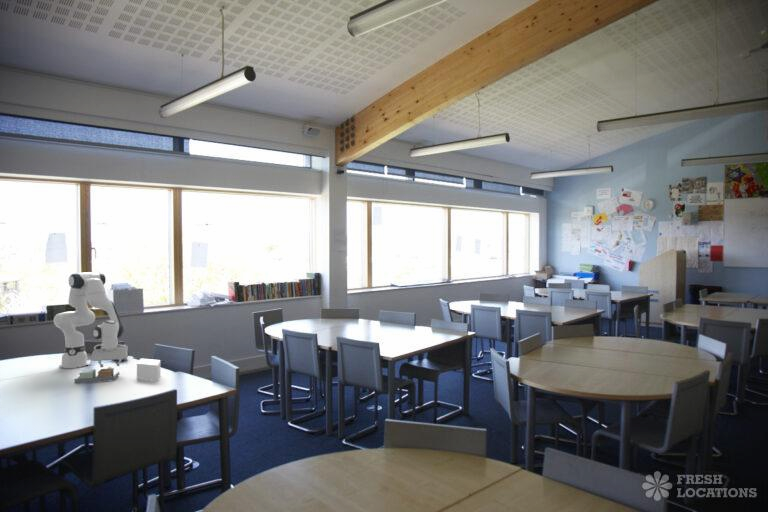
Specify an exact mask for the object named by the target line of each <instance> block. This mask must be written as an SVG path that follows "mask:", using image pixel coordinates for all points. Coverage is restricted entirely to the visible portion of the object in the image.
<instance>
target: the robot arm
mask: <svg viewBox="0 0 768 512" xmlns="http://www.w3.org/2000/svg"><path fill="white" fill-rule="evenodd" d="M106 281H107V279H106V276H105V274H104V273H103V272H99V271H98V272H95V271H94V272H92V271H87V272H79V273H77V272H75V273H72V274H70V276H69V277H68V285H69V287H70V290H69V294H68V300H67V301H68V305H69V306H71V307H72V308H74V309H75V310H73V311H72V310H71V311H64V312H60V313H56V315H54V317H53V324H54V326H55V327H57V328H58V329H59V330H61V332H62V333H63V335H64V340H65V341H64V342H65V347H64V349H63V350H64V353H63V354H62V356H61V364H60V365H59V366H58V367H59V368H62V367H63V368H62V369H76V368H77V367H78V368H83V367H87V366H86V365H88V366H91V363H92V362H91V361H94V362H95V361H97V362H98V364H99V367H100V368H104V363H102V361H110V360H114V361H115V360H118V363H117V362H116V367H120V365H121V362H122V361H123V360H122V359H124V360H126V359H128V358H129V356H128V354H127V350H128V351H129V346H128V345H126V344H121V345H118V344H119V342H118V341H119V340H118V339H119V338H121V337H122V336H123V334H124V332H125V328H124V326H123V324H122V321H121V319H120V317H119V314H118V311H117V308H116V306H115V304H114V302H113V301H112V300H110V299H109V298H108V296H107V293H106V288H105V283H106ZM88 304H89V305H90V306H91V307H92V308H95V309H98V310H99V309H100V310H103V311H104V312H106V313H107V315H108V317H109V319H107V320H104V321H103V322H102V323H101V324H98V325H95V326H94V327H93V329H92V336H93V338H94V339H96V340H100V341H101V340H102V341H101V342H102V343H99V344H96V345H95V346H94V347H93V351H92V354H91V359H89V358H88V354H87V352H86V344H85V335H84V334H83V332H80V331H79V330H76V327H83V326H89V325H91V324H94V322H95V321H96V314H95V312H94V311H92V310H91V309H90V308H89V306H88ZM90 362H91V363H90ZM82 366H83V367H82Z"/></svg>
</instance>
